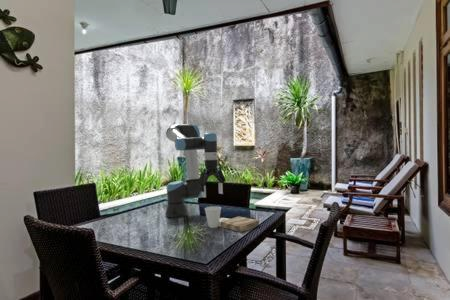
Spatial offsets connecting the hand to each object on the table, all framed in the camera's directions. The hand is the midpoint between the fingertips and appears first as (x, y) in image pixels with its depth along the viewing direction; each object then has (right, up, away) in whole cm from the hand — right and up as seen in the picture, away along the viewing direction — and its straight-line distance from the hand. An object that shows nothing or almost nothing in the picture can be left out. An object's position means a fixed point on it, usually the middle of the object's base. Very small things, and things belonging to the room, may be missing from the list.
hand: (212, 195), depth 177 cm
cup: (+1, -19, 0) cm, 19 cm away
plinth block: (+16, -18, -1) cm, 24 cm away
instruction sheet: (+8, -18, +12) cm, 23 cm away
